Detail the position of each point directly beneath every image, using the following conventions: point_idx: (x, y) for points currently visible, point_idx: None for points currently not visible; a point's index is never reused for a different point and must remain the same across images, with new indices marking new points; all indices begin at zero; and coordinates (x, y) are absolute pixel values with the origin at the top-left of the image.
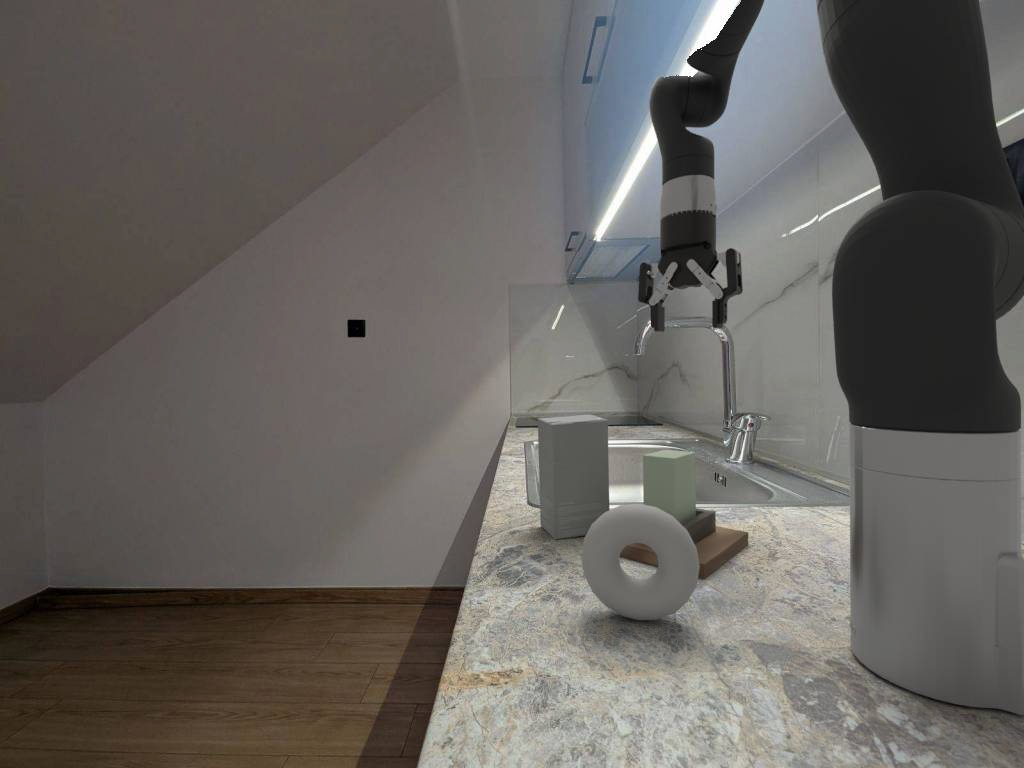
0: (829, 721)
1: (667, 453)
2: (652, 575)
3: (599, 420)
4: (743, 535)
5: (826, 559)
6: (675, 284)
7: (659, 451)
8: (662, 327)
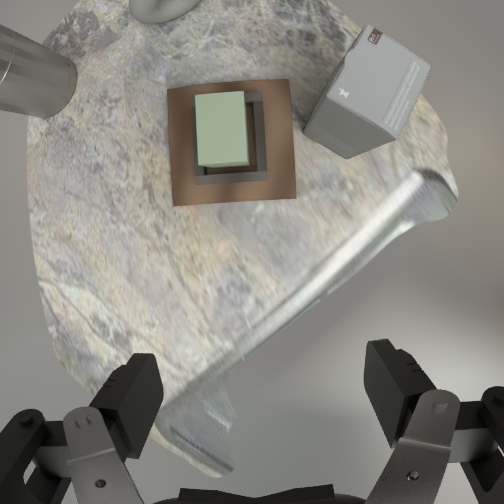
0: (81, 15)
1: (224, 128)
2: (164, 4)
3: (334, 83)
4: (172, 191)
5: (115, 214)
6: (325, 500)
7: (244, 137)
8: (368, 377)
